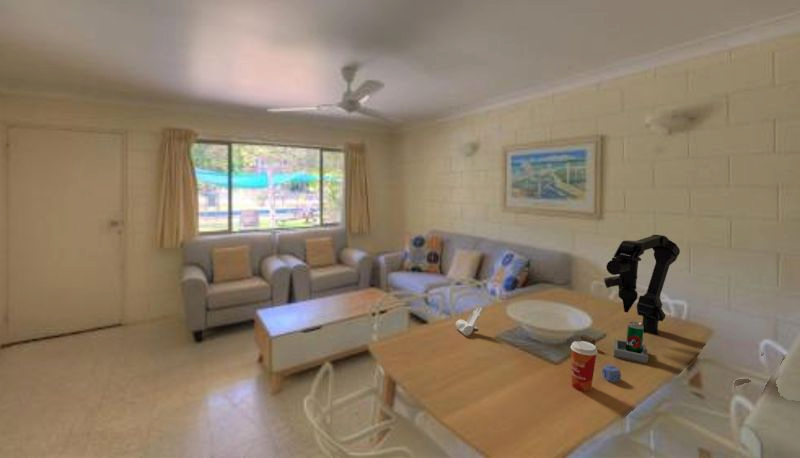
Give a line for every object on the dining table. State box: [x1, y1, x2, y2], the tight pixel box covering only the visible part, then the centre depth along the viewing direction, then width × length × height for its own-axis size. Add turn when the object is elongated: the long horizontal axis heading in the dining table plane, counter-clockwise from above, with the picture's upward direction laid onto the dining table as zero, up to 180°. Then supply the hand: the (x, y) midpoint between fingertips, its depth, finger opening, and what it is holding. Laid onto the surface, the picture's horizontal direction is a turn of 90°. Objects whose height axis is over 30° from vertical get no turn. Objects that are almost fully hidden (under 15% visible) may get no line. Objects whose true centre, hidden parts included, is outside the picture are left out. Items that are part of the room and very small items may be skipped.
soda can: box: [625, 321, 645, 354], centre depth 134 cm, size 5×5×12 cm
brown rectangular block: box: [579, 334, 596, 346], centre depth 141 cm, size 2×5×4 cm, turn 23°
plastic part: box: [455, 303, 484, 337], centre depth 156 cm, size 8×10×12 cm
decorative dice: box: [601, 364, 622, 383], centre depth 119 cm, size 4×4×4 cm
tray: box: [613, 338, 649, 365], centre depth 135 cm, size 10×10×3 cm
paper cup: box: [570, 340, 599, 393], centre depth 114 cm, size 8×8×14 cm
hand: (625, 308), depth 147 cm, fingers open, 9 cm apart
